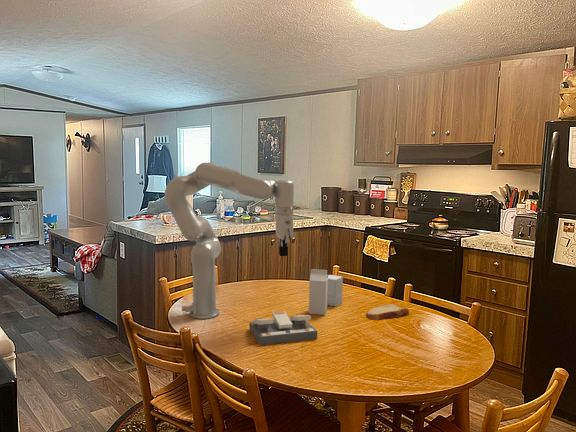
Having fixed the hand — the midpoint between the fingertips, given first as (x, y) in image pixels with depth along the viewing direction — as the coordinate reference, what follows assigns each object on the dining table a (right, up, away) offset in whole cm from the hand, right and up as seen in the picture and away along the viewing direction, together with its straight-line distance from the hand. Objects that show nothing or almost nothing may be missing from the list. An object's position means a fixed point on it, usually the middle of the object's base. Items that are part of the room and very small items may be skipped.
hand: (283, 255), depth 199 cm
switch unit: (0, -29, -13) cm, 32 cm away
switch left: (-8, -24, -15) cm, 29 cm away
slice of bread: (+45, -27, +12) cm, 54 cm away
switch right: (+7, -23, -11) cm, 26 cm away
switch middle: (0, -23, -13) cm, 27 cm away
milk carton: (+15, -26, +14) cm, 33 cm away
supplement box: (+22, -25, +27) cm, 43 cm away
